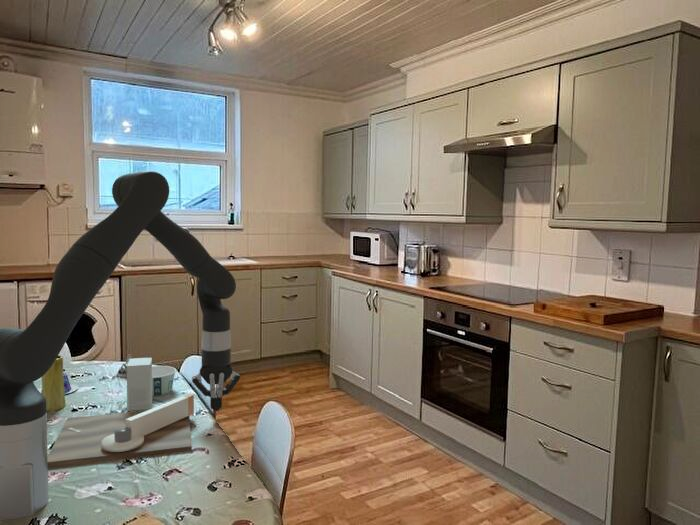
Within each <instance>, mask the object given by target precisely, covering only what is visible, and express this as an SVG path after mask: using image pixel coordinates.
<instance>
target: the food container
mask: <svg viewBox="0 0 700 525" xmlns="http://www.w3.org/2000/svg"><path fill="white" fill-rule="evenodd" d="M176 372H177V369H176V368H175V367H173V366H169V365H154V366H153V365H152V397H155V396H157V395H158V396H163V395H167V394H169V393H171V392H172V391H173V385H174V380H175V374H176ZM170 391H171V392H170ZM166 393H167V394H166ZM158 396H157V397H158Z"/></svg>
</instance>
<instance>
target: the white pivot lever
mask: <svg viewBox="0 0 700 525" xmlns="http://www.w3.org/2000/svg"><path fill="white" fill-rule="evenodd" d="M141 412H142V411H141ZM194 414H195V394H190V393H187V394H185V395H183V396H181V397H178V398H175V399H172V400H170V401H168V402H164V403H163V404H160V405H157V406H155V407H153V408H152V407H151V409H146V410H145V412H142V413H140V414H137V415H135V416H132V417H130V418H127V419H125V422H126V427H121V428H118V429H116V430H115V431H114V434H112V435H109V436H107V437H105V438H104V439H103V440H102V449H103V450H105V451H108V452H124V451H129V450H132V449H135V448H137V447H139V446H141V445H142V444H143V443H144V436H145V435H147V434H149V433H151V432H154V431H156V430H158V429H160V428H162V427H165V426H167V425H169V424H171V423H174V422H176V421H178V420H180V419H182V418H185V417H187V416H189V417H190V416H192V415H194Z"/></svg>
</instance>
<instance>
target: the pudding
mask: <svg viewBox="0 0 700 525" xmlns="http://www.w3.org/2000/svg"><path fill="white" fill-rule="evenodd" d="M63 376H64V394H65V395H68V394H70V393H71V394H72V393H73V392H75V391H77V390H78V389H79V386H78V385H77V384H74V383H70V381H69V380H70V379H69V377H68V375H67V374H66V373H64V372H63ZM37 389H38V391H39V392H40V393H41V394H42V386H41V387H38V388H37Z"/></svg>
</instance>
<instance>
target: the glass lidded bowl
mask: <svg viewBox="0 0 700 525" xmlns="http://www.w3.org/2000/svg"><path fill="white" fill-rule="evenodd" d="M129 359H133V357H132V355H131V354H130V353H128V354H127V355H126V357H125V362H124V363H123V364H122V365H121V367H120V368H119V370H118V371H117V373H116V377H121V378H122V377H123V378H127V368H126V366H127V364H128V361H129Z"/></svg>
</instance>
